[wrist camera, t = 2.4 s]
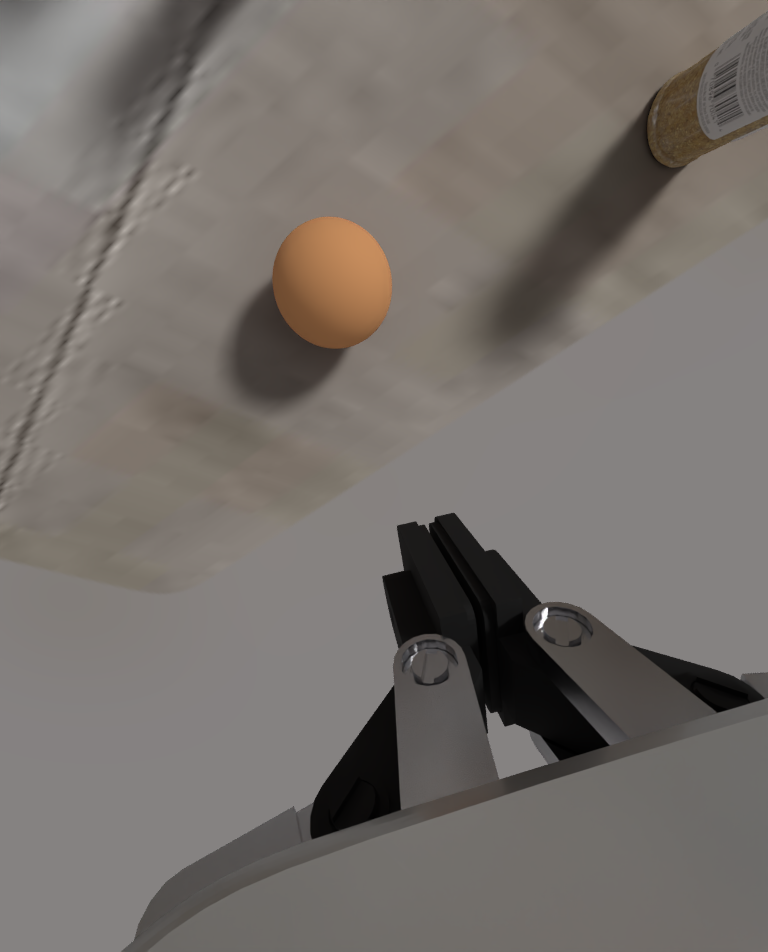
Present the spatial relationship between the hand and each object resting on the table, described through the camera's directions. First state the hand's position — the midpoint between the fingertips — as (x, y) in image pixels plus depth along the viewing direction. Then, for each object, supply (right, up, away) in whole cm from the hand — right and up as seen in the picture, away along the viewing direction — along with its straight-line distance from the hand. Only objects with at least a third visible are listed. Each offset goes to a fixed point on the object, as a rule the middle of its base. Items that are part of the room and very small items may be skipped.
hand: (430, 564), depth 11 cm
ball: (-4, +12, +9) cm, 15 cm away
